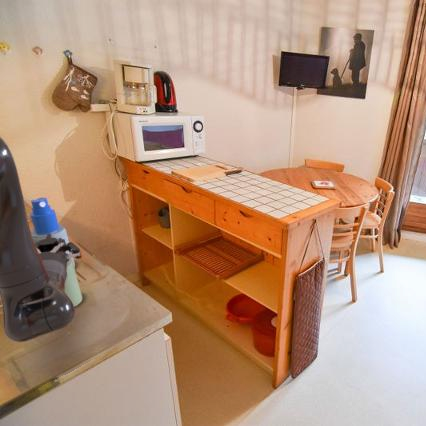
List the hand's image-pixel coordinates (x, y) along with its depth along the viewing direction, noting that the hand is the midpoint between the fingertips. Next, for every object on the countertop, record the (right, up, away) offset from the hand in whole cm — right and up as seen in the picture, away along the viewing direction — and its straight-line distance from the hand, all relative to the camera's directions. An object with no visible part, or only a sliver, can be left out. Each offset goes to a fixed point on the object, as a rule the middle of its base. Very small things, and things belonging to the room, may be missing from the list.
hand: (49, 243), depth 87 cm
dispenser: (0, -18, +5) cm, 19 cm away
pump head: (0, -3, 0) cm, 2 cm away
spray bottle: (-14, -11, +19) cm, 26 cm away
